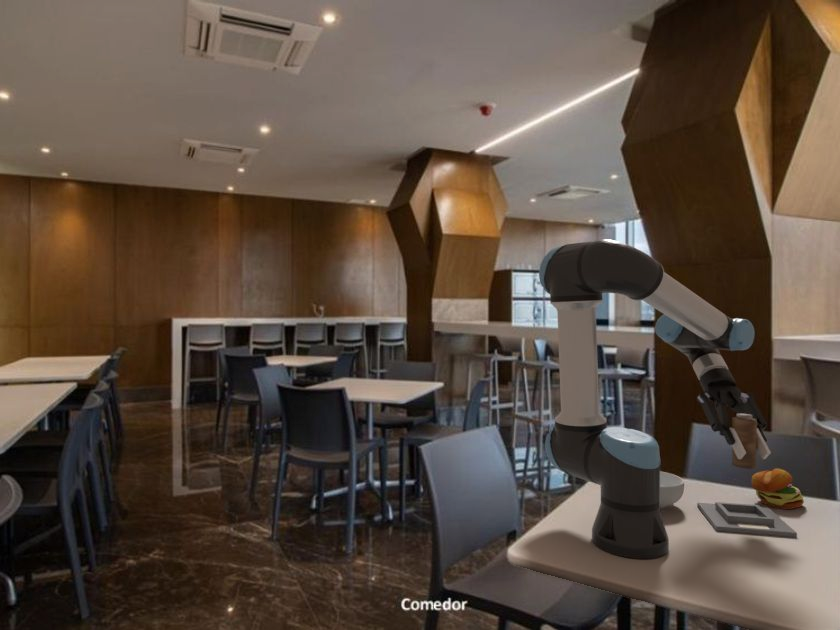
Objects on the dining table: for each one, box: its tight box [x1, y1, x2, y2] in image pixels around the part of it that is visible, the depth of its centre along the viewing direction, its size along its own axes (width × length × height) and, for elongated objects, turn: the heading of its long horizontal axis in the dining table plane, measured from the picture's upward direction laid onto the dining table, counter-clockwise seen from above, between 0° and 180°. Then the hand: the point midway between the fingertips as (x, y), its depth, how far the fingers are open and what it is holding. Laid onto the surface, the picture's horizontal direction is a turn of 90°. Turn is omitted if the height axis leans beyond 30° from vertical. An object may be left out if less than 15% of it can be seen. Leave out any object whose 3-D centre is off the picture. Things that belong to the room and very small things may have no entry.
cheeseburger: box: [750, 468, 805, 510], centre depth 141 cm, size 10×11×10 cm
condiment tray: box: [697, 501, 798, 538], centre depth 130 cm, size 16×16×2 cm
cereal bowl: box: [659, 470, 685, 510], centre depth 141 cm, size 17×17×7 cm
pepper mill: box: [731, 413, 758, 470], centre depth 129 cm, size 5×5×12 cm
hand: (754, 455), depth 126 cm, fingers closed on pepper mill, 5 cm apart
